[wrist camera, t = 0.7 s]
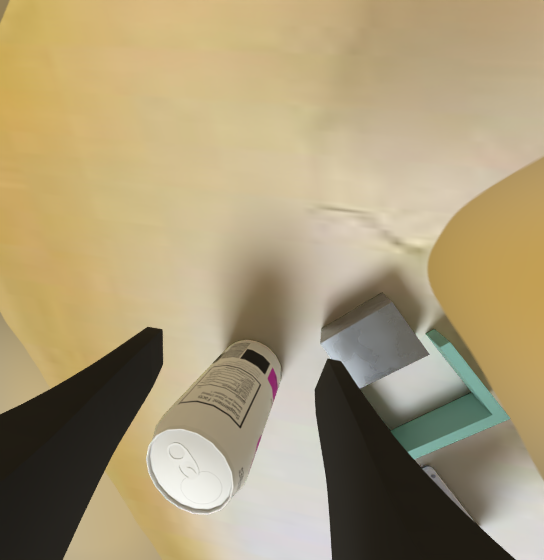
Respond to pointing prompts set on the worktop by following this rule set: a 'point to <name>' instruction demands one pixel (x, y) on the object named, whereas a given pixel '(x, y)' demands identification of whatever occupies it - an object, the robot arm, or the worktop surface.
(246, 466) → the supplement can
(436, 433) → the dock
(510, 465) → the worktop surface
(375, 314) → the block
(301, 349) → the worktop surface
